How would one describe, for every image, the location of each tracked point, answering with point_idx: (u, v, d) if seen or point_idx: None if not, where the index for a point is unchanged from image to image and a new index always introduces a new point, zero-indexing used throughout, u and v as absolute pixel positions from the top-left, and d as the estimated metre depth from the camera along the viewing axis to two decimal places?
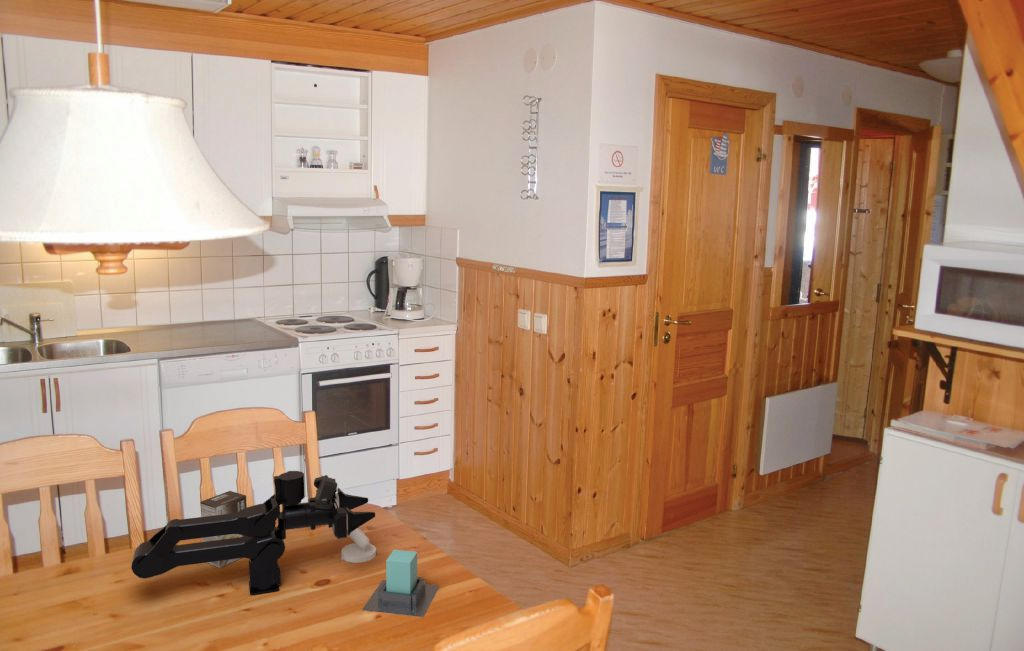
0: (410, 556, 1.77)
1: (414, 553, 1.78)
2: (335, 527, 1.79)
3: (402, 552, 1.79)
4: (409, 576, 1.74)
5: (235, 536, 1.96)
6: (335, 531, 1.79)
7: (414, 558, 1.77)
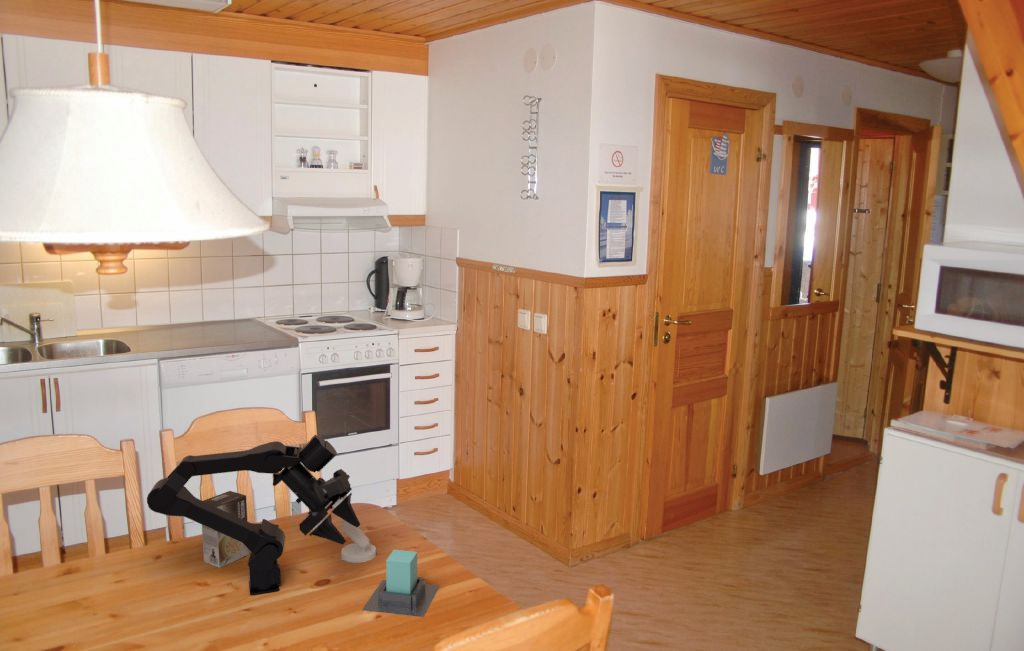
0: (410, 556, 1.77)
1: (414, 553, 1.78)
2: (305, 519, 1.73)
3: (402, 552, 1.79)
4: (409, 576, 1.74)
5: None
6: (302, 522, 1.73)
7: (414, 558, 1.77)
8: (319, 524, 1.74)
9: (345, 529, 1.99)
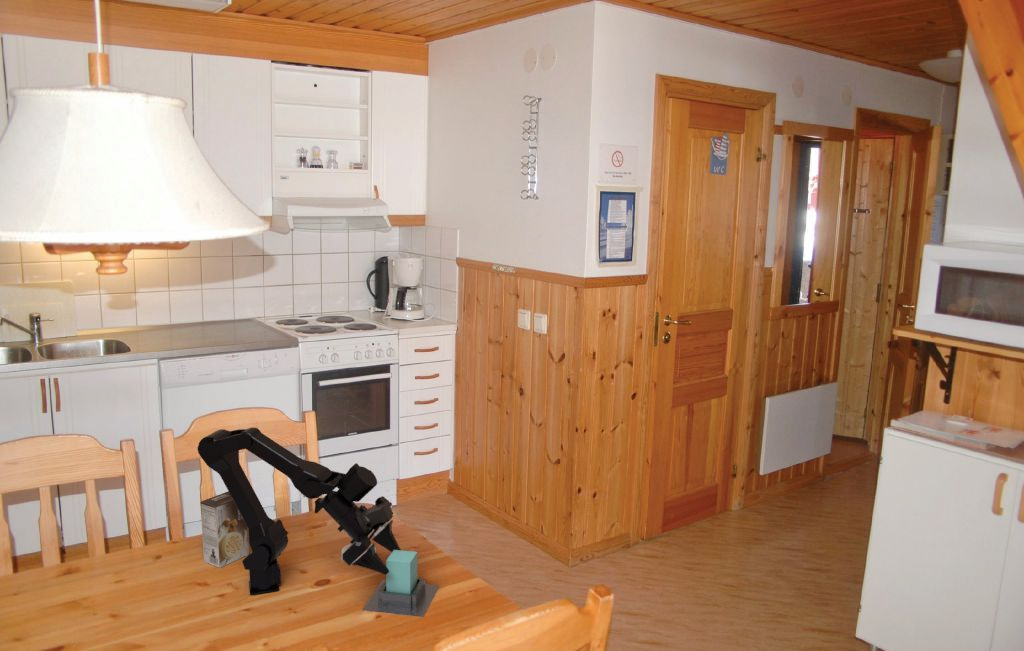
0: (410, 556, 1.77)
1: (414, 553, 1.78)
2: (349, 549, 1.69)
3: (402, 552, 1.79)
4: (409, 576, 1.74)
5: (235, 536, 1.96)
6: (346, 552, 1.69)
7: (414, 558, 1.77)
8: (363, 554, 1.69)
9: None
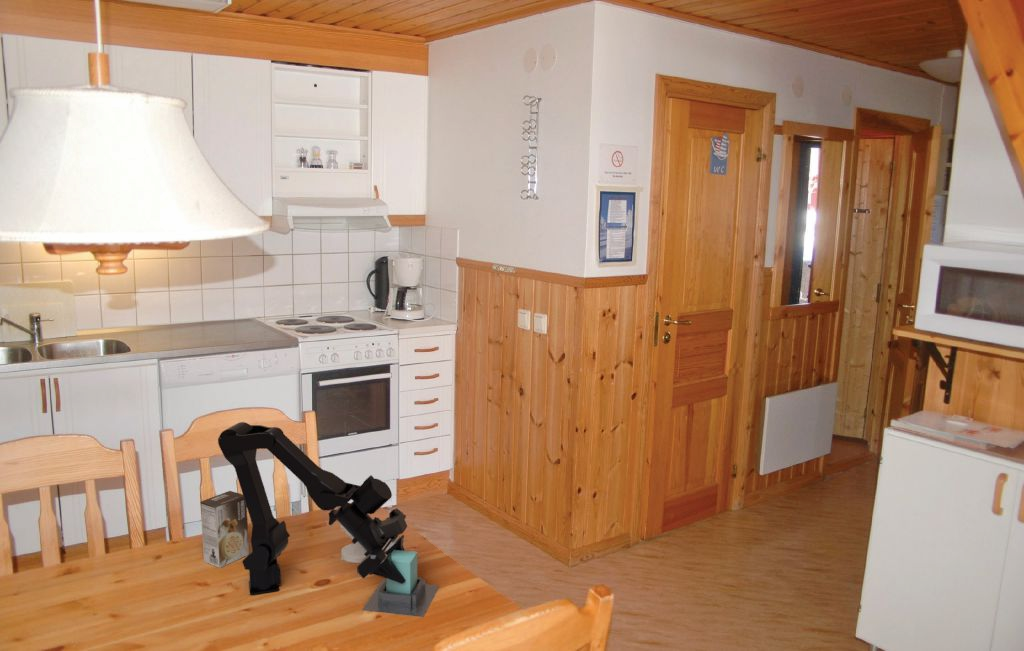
0: (410, 556, 1.77)
1: (414, 553, 1.78)
2: (363, 562, 1.69)
3: (402, 552, 1.79)
4: (409, 576, 1.74)
5: (235, 536, 1.96)
6: (360, 565, 1.69)
7: (414, 558, 1.77)
8: (380, 563, 1.71)
9: (345, 529, 1.99)
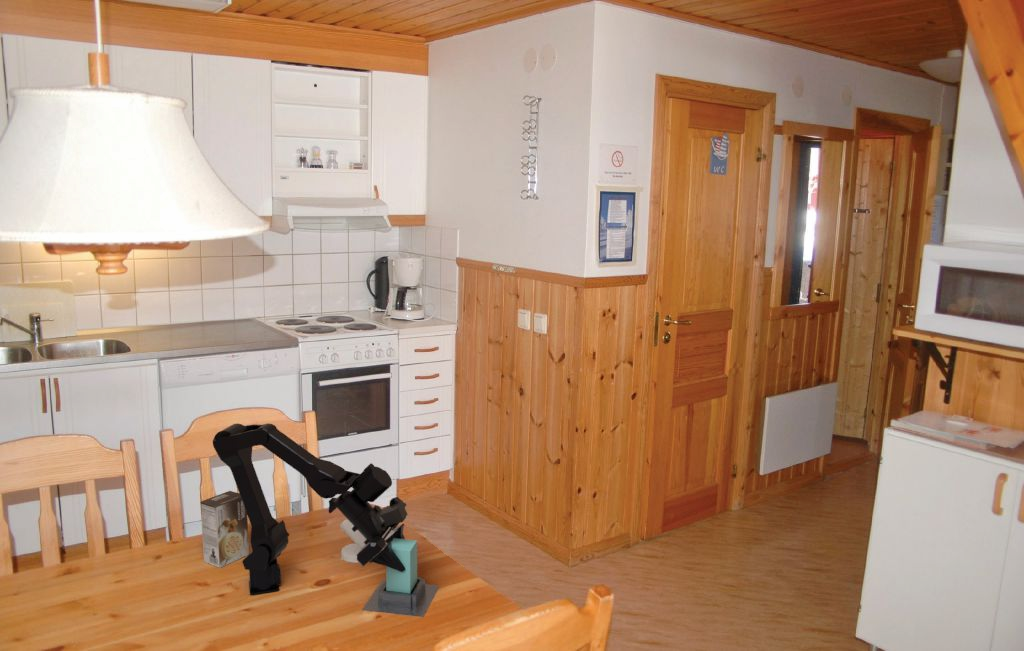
0: (410, 544, 1.76)
1: (414, 541, 1.78)
2: (363, 550, 1.68)
3: (402, 540, 1.78)
4: (409, 564, 1.74)
5: (235, 536, 1.96)
6: (360, 552, 1.68)
7: (414, 546, 1.77)
8: (380, 551, 1.71)
9: (345, 529, 1.99)
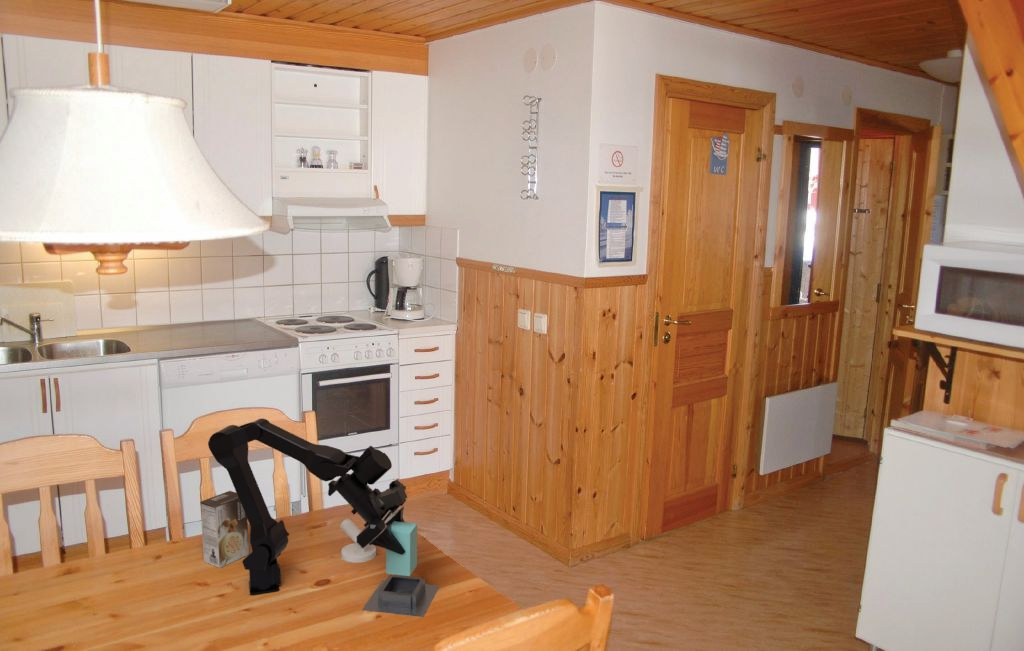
0: (410, 527, 1.76)
1: (414, 524, 1.77)
2: (363, 532, 1.67)
3: (402, 523, 1.77)
4: (409, 547, 1.73)
5: (235, 536, 1.96)
6: (360, 534, 1.68)
7: (414, 529, 1.76)
8: (379, 534, 1.70)
9: (345, 529, 1.99)
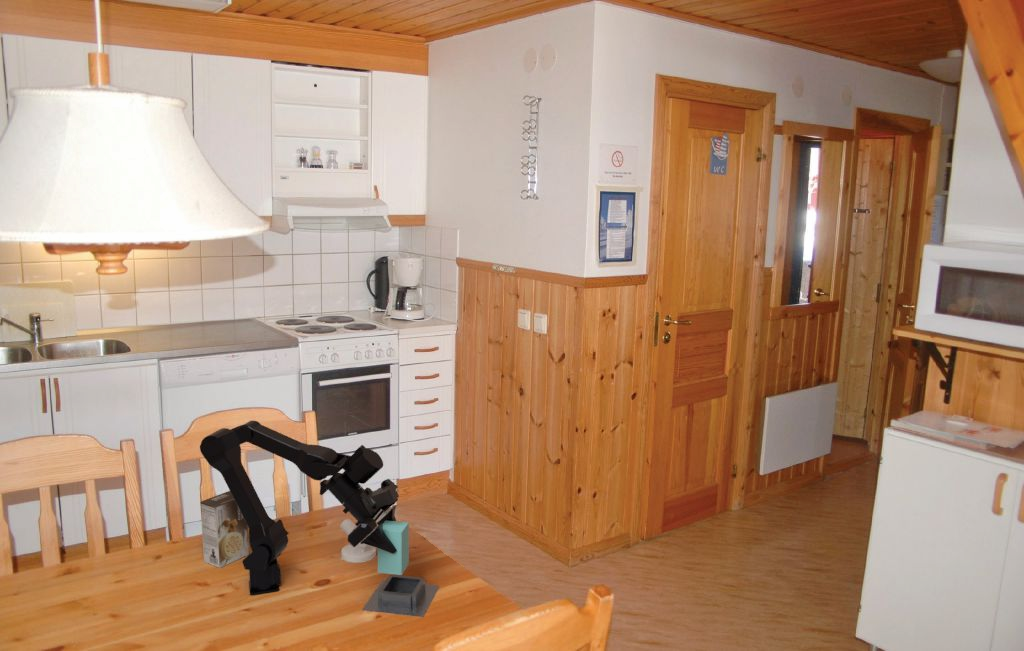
0: (402, 526, 1.76)
1: (406, 523, 1.77)
2: (354, 531, 1.68)
3: (394, 522, 1.78)
4: (400, 546, 1.74)
5: (235, 536, 1.96)
6: (351, 533, 1.68)
7: (405, 528, 1.76)
8: (371, 533, 1.70)
9: (345, 529, 1.99)
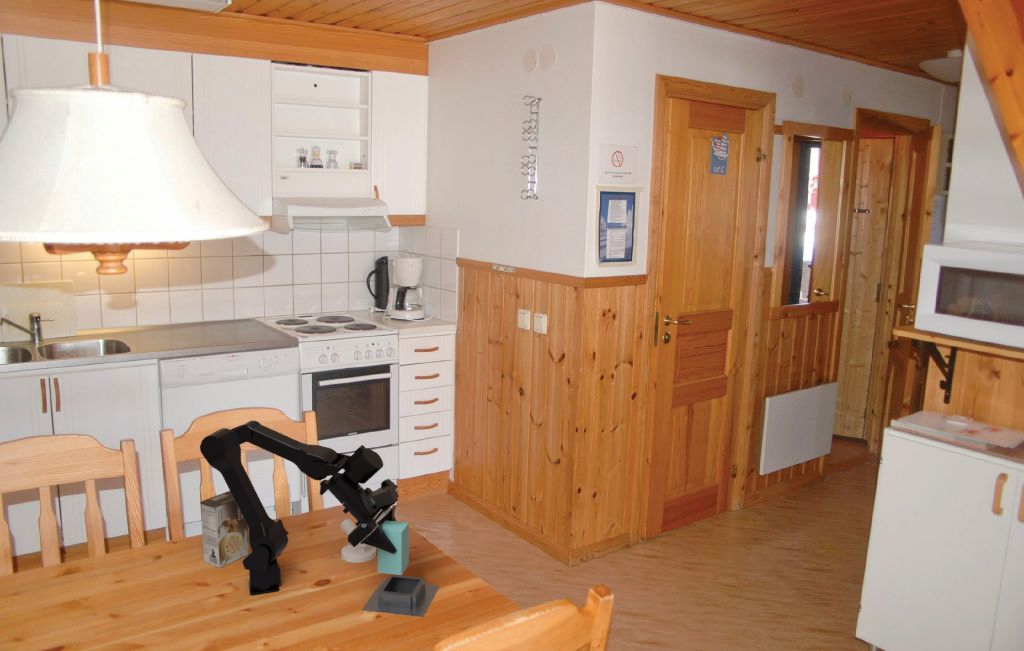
0: (402, 526, 1.76)
1: (406, 523, 1.77)
2: (354, 531, 1.68)
3: (394, 522, 1.78)
4: (400, 546, 1.74)
5: (235, 536, 1.96)
6: (351, 533, 1.68)
7: (405, 528, 1.76)
8: (371, 533, 1.70)
9: (345, 529, 1.99)
